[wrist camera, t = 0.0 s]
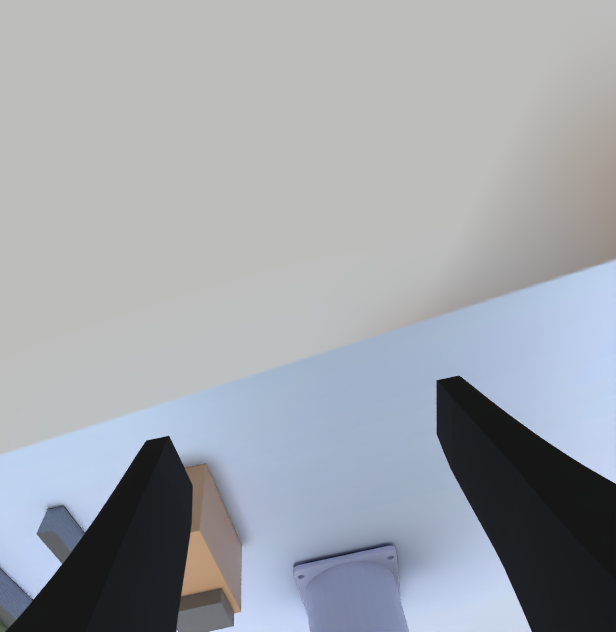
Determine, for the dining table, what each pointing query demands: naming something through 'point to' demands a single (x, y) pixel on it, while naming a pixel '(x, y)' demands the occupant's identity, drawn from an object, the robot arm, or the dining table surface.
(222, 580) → the orange wooden block
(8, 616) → the pair of grey bars
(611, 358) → the dining table surface
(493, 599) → the dining table surface
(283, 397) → the dining table surface
